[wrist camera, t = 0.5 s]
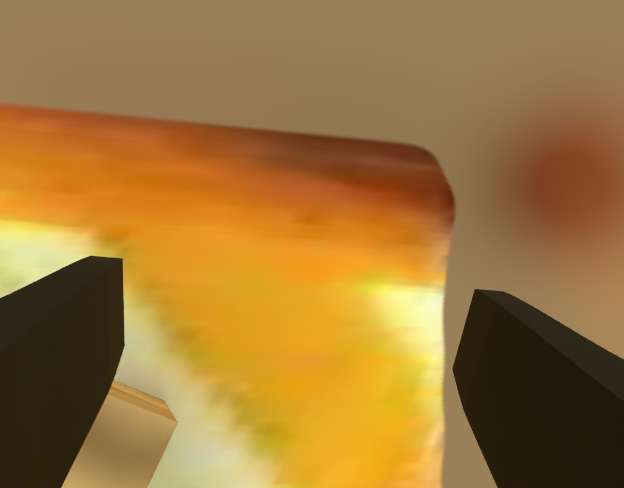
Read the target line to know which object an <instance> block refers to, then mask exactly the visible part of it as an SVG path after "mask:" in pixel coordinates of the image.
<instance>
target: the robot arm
mask: <svg viewBox="0 0 624 488" xmlns="http://www.w3.org/2000/svg"><path fill="white" fill-rule="evenodd" d="M124 346H125V344H124V301H123V259H121V258H109V257H98V256H89V257H86V258H83V259H81V260H79V261H76V262H74V263H72V264H70V265H68V266H66V267H64V268H62V269H60V270H58V271H56V272H54V273H52V274H50V275H48V276H46V277H44V278H42V279H40V280H38V281H35V282H33V283H31V284H29V285H27V286H25V287H23V288H21V289H19V290H17V291H15V292H13V293H11V294H9V295H6V296H4V297H2V298H0V488H61V487H62V485H63V483H64V481H65V479H66V477H67V475H68V473H69V471H70V469H71V467H72V465H73V463H74V461H75V459H76V457H77V455H78V453H79V451H80V449H81V447H82V445H83V443H84V441H85V439H86V437H87V435H88V433H89V431H90V429H91V427H92V425H93V423H94V421H95V419H96V417H97V415H98V413H99V411H100V409H101V407H102V405H103V403H104V401H105V399H106V397H107V395H108V392H109V390H110V388H111V385H112V382H113V380H114V377H115V374H116V371H117V368H118V365H119V362H120V358H121V355H122V352H123V349H124ZM453 373H454V377H455V381H456V384H457V389H458V393H459V396H460V399H461V402H462V405H463V409H464V412H465V414H466V417H467V419H468V422H469V424H470V426H471V428H472V431H473V433H474V435H475V438H476V440H477V442H478V445H479V447H480V449H481V451H482V453H483V456H484V458H485V460H486V463H487V465H488V467H489V469H490V471H491V474H492V476H493V478H494V480H495V482H496V485H497V487H498V488H624V359H622V358H620V357H618V356H616V355H614V354H613V353H611V352H609V351H607V350H605V349H604V348H602V347H600V346H598V345H597V344H595V343H593V342H592V341H590V340H588V339H587V338H585V337H583V336H581V335H580V334H578V333H576V332H574V331H573V330H571V329H570V328H568V327H566V326H564V325H563V324H561V323H560V322H558V321H556V320H555V319H553V318H551V317H550V316H548V315H546V314H545V313H543V312H541V311H540V310H538V309H536V308H534V307H533V306H531V305H529V304H527V303H526V302H524V301H522V300H520V299H518V298H516V297H514V296H512V295H510V294H508V293H505V292H502V291H491V290H480V289H475V291H474V294H473V298H472V301H471V305H470V309H469V312H468V316H467V319H466V323H465V326H464V330H463V333H462V337H461V340H460V344H459V347H458V351H457V355H456V358H455V362H454V365H453Z"/></svg>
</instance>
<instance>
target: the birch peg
mask: <svg viewBox="0 0 624 488" xmlns="http://www.w3.org/2000/svg"><path fill="white" fill-rule="evenodd" d="M177 423H178V422H177V421H176V419H175V417H174V416H173V414H172V413H171V411H170V409H169V408H168V406H167V405H166V403H165V401H162V400H160V399H157V398H155V397H152V396H150V395H147V394H145V393H143V392H140V391H138V390H135V389H133V388H130V387H128V386H125V385H123V384H121V383H118V382H116V381H113V382H112V385H111V388H110V390H109V392H108V395H107V397H106V399H105V401H104V403H103V405H102V407H101V409H100V411H99V413H98V415H97V417H96V419H95V421H94V423H93V425H92V427H91V429H90V431H89V433H88V435H87V437H86V439H85V441H84V443H83V445H82V447H81V449H80V451H79V453H78V455H77V457H76V459H75V461H74V463H73V465H72V467H71V469H70V471H69V473H68V475H67V477H66V479H65V481H64V483H63V485H62V488H147V487H148V485H149V483H150V480H151V478H152V476H153V474H154V472H155V470H156V468H157V465H158V463H159V461H160V459H161V457H162V455H163V453H164V450H165V448H166V446H167V444H168V442H169V440H170V438H171V435H172V433H173V431H174V429H175V427H176V425H177Z"/></svg>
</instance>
